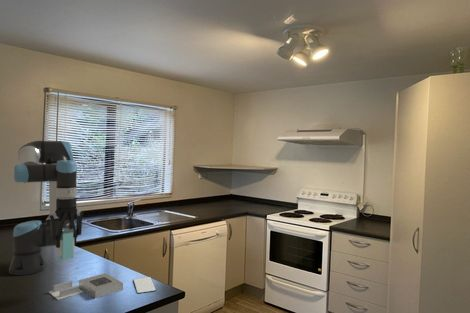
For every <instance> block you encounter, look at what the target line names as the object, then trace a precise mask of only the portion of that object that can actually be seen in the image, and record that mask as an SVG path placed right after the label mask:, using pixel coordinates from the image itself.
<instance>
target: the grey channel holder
mask: <svg viewBox="0 0 470 313" xmlns="http://www.w3.org/2000/svg"><path fill="white" fill-rule="evenodd" d="M52 288H53V290H49V291H48V294H49V295H51V296H52V297H53V298H55V299H56V300H57V301H59V300H63V299H67V298H69V296H70V297H72V296H76V294H77V295H80V294H83V293H84V290H82V289H81V288H79V285H75V284H73V281H72V280H70V281H65V282H62V283H58V284H53V285H52ZM66 297H67V298H66Z"/></svg>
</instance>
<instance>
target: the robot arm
mask: <svg viewBox="0 0 470 313" xmlns="http://www.w3.org/2000/svg"><path fill="white" fill-rule="evenodd" d="M72 148H73V147H72V144H71V143H70V142H69V141H63V140H34V141H30V142H27V143H25V144H23V145H22V146H21V147H20V148H19V149H18V150H17V158H18V160H19V164H15V165H14V166H13V167H14V168H13V169H14V170H13V173H14V174H13V175H14V176H13V177H14V178H13V179H14V182H15V183H22V184H23V183H24V184H25V183H47V182H48V197H49V198H48V199H49V202H48V204H49V206H48V208H49V213H48V215H47V218H46V219H45V222H43V223H42V220H35V219H34V220H30V221H25V222H24V221H23V222H21V223H19V224H16V225H15V226H14V228H13V233H12V237H13V254H12V255H13V256H12V259H11V262H10V265H9V268H8V274H9V275H13V276H26V275H32V274H33V275H34V274H37V273H39V272H40V273H41V271H44V270H45V269H46V262H45V260H44V259H45V258H44V256H43V253H42V248H46V247H54V246H55V248H57V255H58V256H59V255H60V256H62V239H61V234H62V230H63V228H68V227H70V228H72V229H74V232H73V254H75V246H76V245H77V239H78V237H79V236H81V235H82V225H83V216H84V213H85V212H84V211H83V210H82V211H81V210H78V208H77V198H76V197H77V176H78V175H77V173H78V172H77V170H78V168H77V161H76V160H74V152H73V149H72ZM75 216H76V221H75V219H74V218H75Z"/></svg>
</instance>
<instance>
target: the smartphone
mask: <svg viewBox="0 0 470 313" xmlns="http://www.w3.org/2000/svg"><path fill="white" fill-rule="evenodd" d="M132 282H133V285H134V288H135V291H136V294H138V295H141V294H147V293H154V292H155V293H156V291H157V289H156V286H155V284H154V282H153V279H152V276H144V277H137V278H133V281H132Z"/></svg>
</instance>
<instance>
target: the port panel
mask: <svg viewBox="0 0 470 313" xmlns="http://www.w3.org/2000/svg"><path fill="white" fill-rule="evenodd" d="M78 286H79V289H80V290H82V291H83V292H85V293H87V294H88V295H89V294H90V295H89V296H91V297H92V298H93V299H95V298H96V299H98V297H99V298H101V296H102V297H105V296H108V295H111V293H112V294H115V293H118V292H121V291H123V290H124V282H122V281H120V280H118V279H117V278H115V277H113V276H111V275H109V274H108V273H100V274H97V275H93V276H90V277H86V278H81V279H79V280H78ZM114 292H115V293H114ZM104 295H105V296H104Z"/></svg>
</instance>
